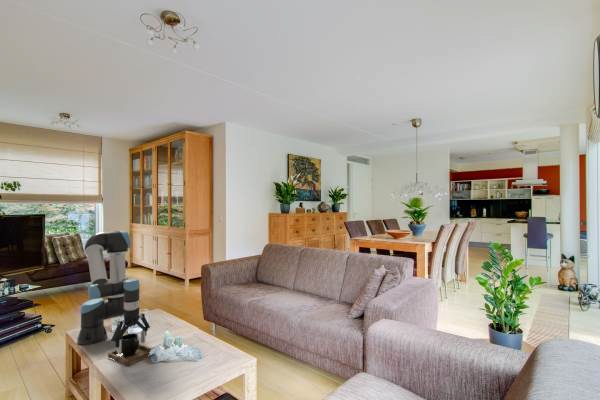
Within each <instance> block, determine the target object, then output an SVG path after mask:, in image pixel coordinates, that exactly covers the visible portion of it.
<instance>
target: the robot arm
mask: <svg viewBox="0 0 600 400" xmlns="http://www.w3.org/2000/svg"><path fill="white" fill-rule="evenodd" d="M131 245H132V244H131V237H130V235H129V233H128V231H126V230H115V231H114V230H113V231H99V232H96V233H94V234H93V235H91V236H90V237H89V238H88V239H87V240H86V242H85V244H84V253H85V255H86V256H87V261H88V262H87V263H88V268H89V276H90V280H91V281H90V282H91V285H90V284H89V285H88V288H87V294H88V295H87V297H88V299H89V300H87V301H85V302H84V303H82V304H81V306H80V330H79V332H78V336H77V340H76V341H77V344H78V345H80V346H81V345H85V346H86V345H87V346H88V345H93V344H97V343H99V342H102V341H104V340H106V339H107V337H108V332H107V329H106V327H105V324H104V321H105V320H109V319H114V318H119V317H121V318H122V317H123V320H118V321H117V324H116V325H117V326H116V328H115V330H114V332H113V335H112V337H111V339H110V340H111V341H112V342H114V343H115V347H116V350H117V353H119V354H121V340H120V339H121V338H122V336H124V335H125V333H126V332H127V330H128V329H129V328H131V327H133V326H136V325H137V326H138V327H139V328H140V329H141V331H140V342H141V344H142V343H143V344H146V337H147V334H148V333H147V332H148V330H149V329H150V327H151V326H150V325H149V322H148V321H147V318H146V314H145V313H142V312H140V288H141V287H140V286H141V285H140V280H139V278H126V254H127V253H128V251H129V249H130V248H131ZM104 251H106V254H107V255H108V256H109V280H108V275H107V269H106V265H105V259H104ZM104 298H107V299H104ZM139 320H141V321H139ZM141 322H142V323H141Z"/></svg>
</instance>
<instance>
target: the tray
mask: <svg viewBox="0 0 600 400" xmlns="http://www.w3.org/2000/svg"><path fill="white" fill-rule="evenodd" d="M151 349H153V348H152V347H149V346H146V345H144V344H142V343H139V346H138V349H137V351H136V353H135V354H134V355H132V356H127V357H125V356H123V355H122V356H121V357H120V356H117V355H116V354H118V353H117V349H115V350H113V351H111V352H108V353H107V358H108V357H109V358H112V359H114V360H115V361H114V360H113V361H114V362H116V361H117V362H116V363H119V364H121V365H124V366H126V367H131V366H133V365H135V364H136V363H139V362H141V361H143V360H145V359H148V358H149V357H148V355H149V352H150V350H151ZM121 353H122V350H121ZM109 358H108V359H109Z"/></svg>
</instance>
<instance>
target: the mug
mask: <svg viewBox="0 0 600 400" xmlns="http://www.w3.org/2000/svg"><path fill="white" fill-rule="evenodd" d="M120 340H121V350H122V353H123V356H125V357H127V356H132V355H134V354H135V353H136V351H137V349H138V346H139V344H140V340H139V339H138V334H137V333H127V334H124V335H123V336H122V338H121V339H120Z"/></svg>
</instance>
